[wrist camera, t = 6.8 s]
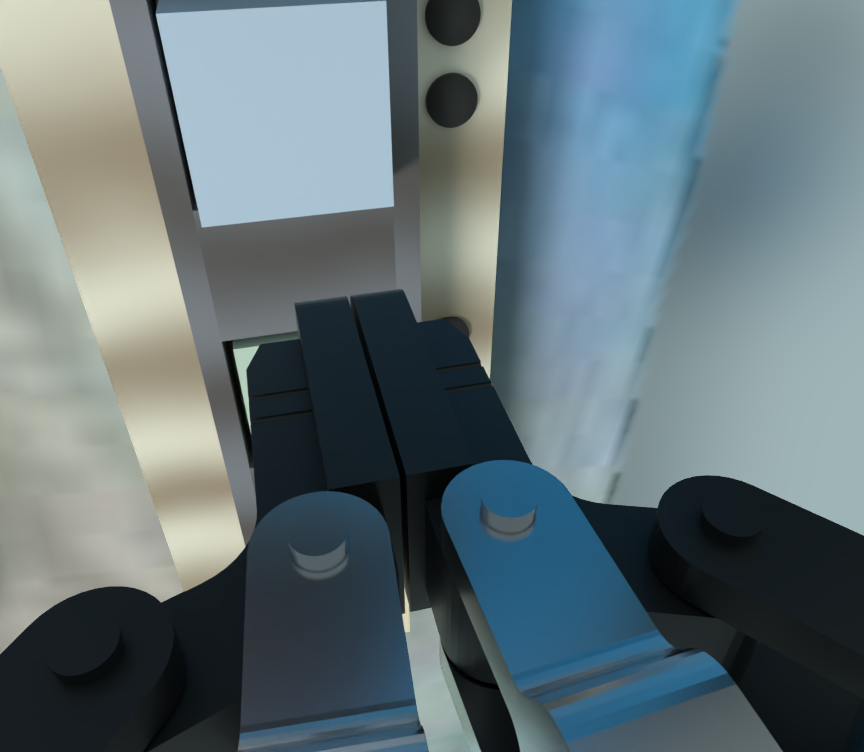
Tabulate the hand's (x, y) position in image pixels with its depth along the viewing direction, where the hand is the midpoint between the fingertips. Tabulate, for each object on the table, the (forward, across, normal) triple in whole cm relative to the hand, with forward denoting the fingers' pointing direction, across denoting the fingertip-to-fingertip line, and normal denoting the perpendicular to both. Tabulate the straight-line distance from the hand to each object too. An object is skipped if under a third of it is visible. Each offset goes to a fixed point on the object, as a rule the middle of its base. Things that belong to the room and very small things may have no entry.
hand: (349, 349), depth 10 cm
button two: (+12, 0, 0) cm, 12 cm away
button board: (+17, 0, +10) cm, 19 cm away
